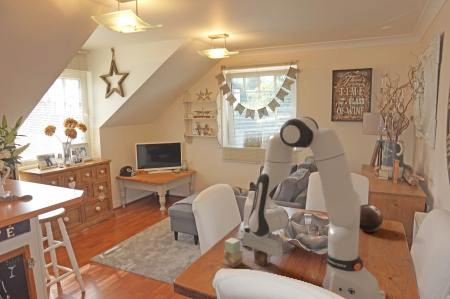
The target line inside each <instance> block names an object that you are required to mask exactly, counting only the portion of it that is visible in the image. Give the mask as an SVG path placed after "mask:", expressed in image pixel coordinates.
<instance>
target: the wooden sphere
mask: <svg viewBox="0 0 450 299" xmlns="http://www.w3.org/2000/svg"><path fill="white" fill-rule="evenodd" d="M383 218H384V216H383V214H382V212H381V210H380V209H379V208H377V207H376V206H374V205H372V204H361V208H360V225H359V230H361V231H364V232H368V233H370V232H371V233H372V232H374V231H376V230H378V229H380V228H381V227H382V225H383V220H384V219H383Z"/></svg>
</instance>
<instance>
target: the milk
mask: <svg viewBox="0 0 450 299" xmlns="http://www.w3.org/2000/svg"><path fill="white" fill-rule="evenodd" d="M254 195H255V191H253V190H250V191H248V194H247V197H246V200H245V202H244V206H243V207H244V208H243V228H244V227H246V226H248V220H249V216H250V214H251V211H252V204H253V200H254ZM243 228H242V229H243Z"/></svg>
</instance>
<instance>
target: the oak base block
mask: <svg viewBox="0 0 450 299" xmlns="http://www.w3.org/2000/svg"><path fill="white" fill-rule="evenodd" d="M223 264H225V265H226V266H229V267H231V268H235V267H237V266H239V265H241V264H243V250H242V249H240V251H239V252H237V253H235V254H231V253H228V252H225V250H223Z"/></svg>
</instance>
